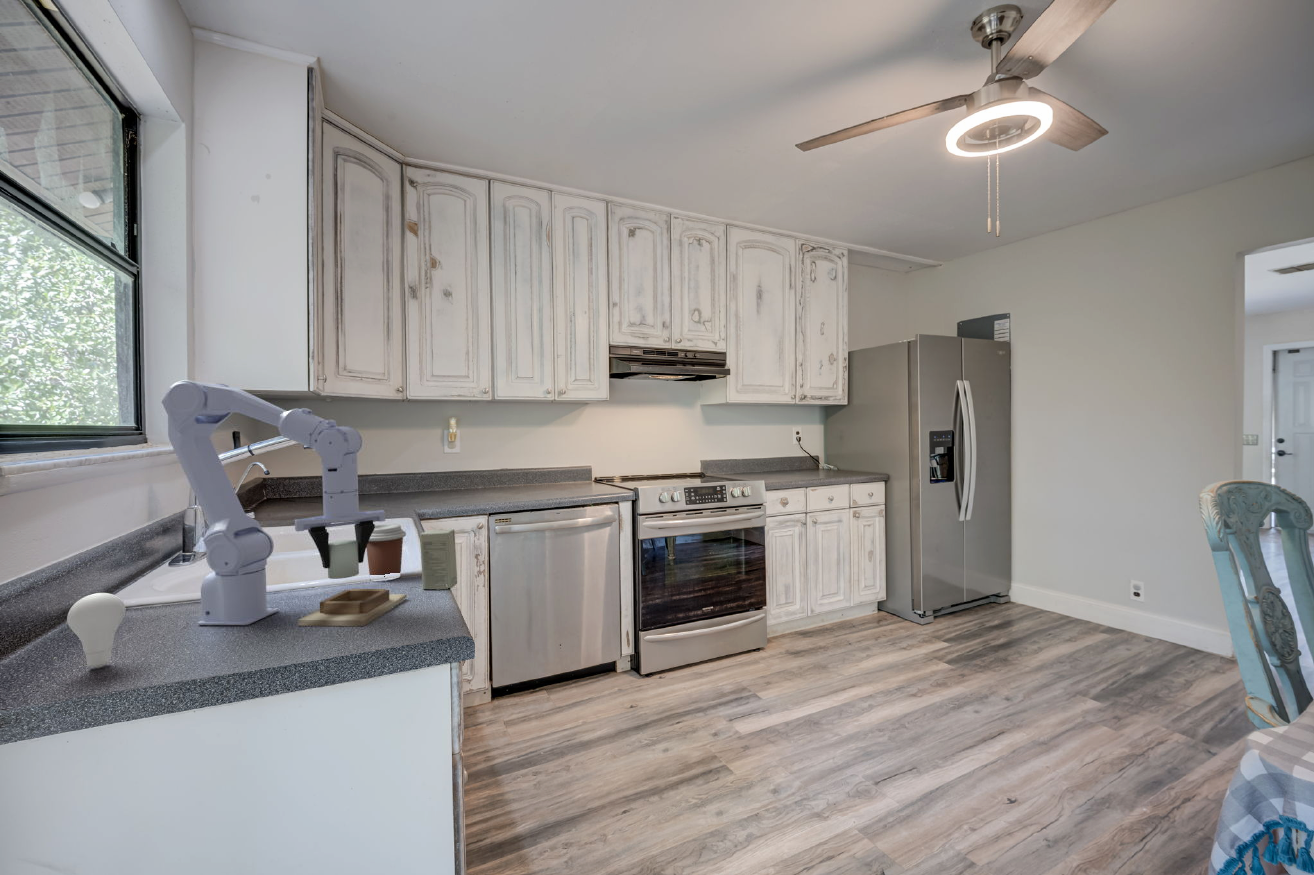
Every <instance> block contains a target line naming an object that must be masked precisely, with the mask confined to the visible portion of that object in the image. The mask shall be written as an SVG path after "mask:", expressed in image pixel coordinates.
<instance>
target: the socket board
mask: <svg viewBox="0 0 1314 875" xmlns="http://www.w3.org/2000/svg"><path fill="white" fill-rule="evenodd" d="M405 598H407V594H405V593H404V594H403V593H402V594H401V593H399V594H397V593H395V594H393V593H392V594H390V589H385V588H352V589H344V590H342V591H340V592H338V593H336V594H334V595H332V596H330V597H328V598H326V599H323V600H322V601H320V602H319V609H317V610H315V611H313V612H311V613H310V614H307V615H304V616H303V617H300V619H297V625H298V626H304V627H305V626H307V627H309V626H311V627H312V626H313V627H317V626H318V627H319V626H320V627H322V626H323V627H328V626H329V627H331V626H333V627H334V626H335V627H365V626H366V625H368V624H370V623H371V622H373V621H374V620H377V618H379V617H381V616H383V615H384V614H386V613H387V612H388V611H390V610H392V609H393V608H395V607H397V606H398V605H400V604H401V603H403V602H404V601H403V600H404V599H405ZM402 601H403V602H402ZM400 602H401V603H400ZM399 603H400V604H399ZM397 604H398V605H397ZM396 605H397V606H396ZM394 606H395V607H394ZM392 607H393V608H392ZM391 608H392V609H391Z"/></svg>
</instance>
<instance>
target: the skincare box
mask: <svg viewBox="0 0 1314 875" xmlns="http://www.w3.org/2000/svg"><path fill="white" fill-rule="evenodd" d="M419 540H420V541H419V542H420V544H419V545H420V559H421V562H420V564H421V580H422V590H423V589H436V590H451V589H453V588H454V587H455V586H456V585H457V584H458V573H457V571H458V570H457V556H456V554H457V552H456V550H457V548H456V534H455V529H454V528H453V529H438V530H437V529H435V530H432V529H431V530H426V531H424V532H422V533H419ZM446 584H447V585H448V587H447V586H446ZM448 588H450V589H448Z"/></svg>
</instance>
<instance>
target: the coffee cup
mask: <svg viewBox="0 0 1314 875" xmlns="http://www.w3.org/2000/svg"><path fill="white" fill-rule="evenodd" d="M401 526H402V525H400V524H398V523H387V524H386V523H384V524H377V525H376V524H375V528H374V531H373V533H372V535H371V537H370V539H369V541H368V544H367V547H366V555H367V563H368V564H367V565H368V573H369V576H370V575H385V574H390V573H400V572H401V573H402V556H403V541H404V537H406V536H407V533H406V531H405V530H403V529H402V527H401ZM384 577H385V576H384Z"/></svg>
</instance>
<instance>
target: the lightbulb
mask: <svg viewBox="0 0 1314 875" xmlns="http://www.w3.org/2000/svg"><path fill="white" fill-rule="evenodd" d="M125 614H126V604H125V603H124V600H122V599H121V598H120V597H119V596H117V595H115V594H112V593H110V592H109V593H108V592H97V593H96V592H95V593H93V594H89V595H86V596H83V597H82V598H80V599H78V600H77V601H76V602H75V603H74V604H73V605H72V606H71V608H70V609H69V611H68V613H67V617H66V621H67V625H68V626H69V628H70V629H71V630H72V632H73V633H74V634H75V635H76V636H77V637H78V639H79V640H80V643H81V645H82V651H83V653H85V658H86V659H85V660H86V665H87V666H88V667H91V668H94V669H100V668H102V667H105V665H106V664H108V663H110V662H111V660H112V648H113V647H114V639H115V636H116V635H115V634H116V632H117V630H118V628H119V627H120V625H121V623H122V622H123V620H124V617H125Z"/></svg>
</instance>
